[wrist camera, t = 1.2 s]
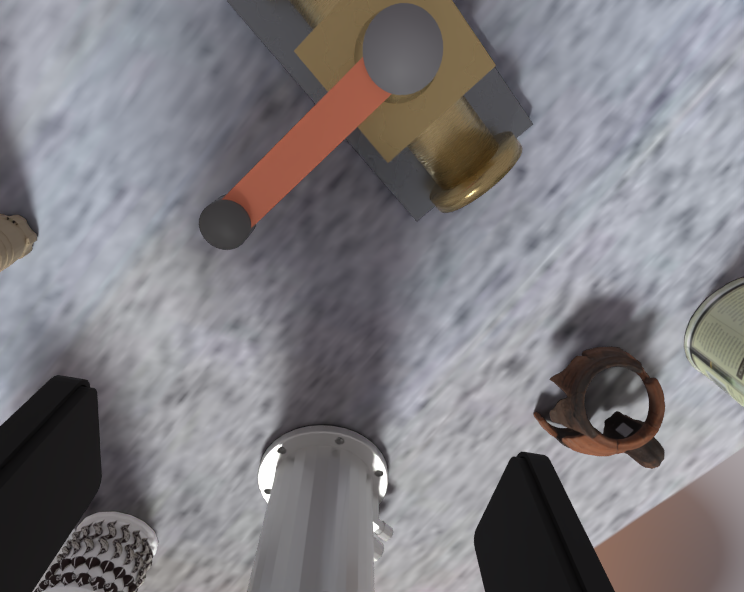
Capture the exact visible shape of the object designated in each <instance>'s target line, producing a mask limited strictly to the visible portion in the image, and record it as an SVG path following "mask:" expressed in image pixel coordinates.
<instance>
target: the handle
mask: <svg viewBox="0 0 744 592" xmlns="http://www.w3.org/2000/svg"><path fill="white" fill-rule="evenodd" d="M35 241H37V235H36V233H35V232H33V231H32V229H31V228H30V227H29V225H28V224H27V220H26V219H24V218H23V217H21V216H19V215H13V216H6V215H4V214H1V213H0V272H1V271H3V270H4V269H6V268H7V267H9V266H10V265H11V264H13V263H14V262H15V261H16V260H18V259H20V258H23V257H24V256H26V255H27V254H29V253H30V252H31V251H32V249H33V248H32V244H33V243H34V242H35Z"/></svg>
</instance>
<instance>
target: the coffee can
mask: <svg viewBox="0 0 744 592" xmlns="http://www.w3.org/2000/svg"><path fill="white" fill-rule="evenodd" d="M684 347H685V353H686V356H687V358H688V360H689V362H690V363H691V364H692V366H693V367H694V368H695V369H697V370H698V371H699V372H701V373H703V374H704V375H705V376H707V377H708V378H709V379H710V380H711V381H713V382H714V383H715V384H716V385H718V386H719V387H720V388H721V389H722V390H724V391H725V392H726V393H727V394H728V395H730V396H731V397H732V398H733V399H734V400H736V401H737V402H738V403H739V404H740V405H742V406H743V407H744V277H743V278H740V279H737V280H735V281H732V282H730V283H728V284H727V285H725V286H724V287H722V288H721V289H719V290H717V291H716V292H715V293H713V294H712V295H711V296H710V297H709V298H707V299H706V300H705V301H704V302H703V304H702V305H701V306H700V307H699V308H698V310H697V311H696V312H695V314H694V316H693V317H692V319H691V320H690V323H689V325H688V328H687V330H686V334H685V340H684Z"/></svg>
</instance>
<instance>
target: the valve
mask: <svg viewBox="0 0 744 592" xmlns="http://www.w3.org/2000/svg"><path fill="white" fill-rule="evenodd" d="M227 2H228V3H229V4H230V5H231V6H232V7H233V9H234V10H235V11H236V12H237V13H238V14H239V16H240V17H241V18H242V19H243V20H244V21H245V23H246V24H247V25H248V26H249V27H250V28H251V30H252V31H253V32H254V33H255V34H256V35H257V37H258V38H259V39H260V40H261V41H262V42H263V44H264V45H265V46H266V47H267V48H268V49H269V50H270V52H271V53H272V54H273V55H274V56H275V57H276V59H277V60H278V61H279V62H280V63H281V64H282V66H283V67H284V68H285V69H286V70H287V71H288V73H289V74H290V75H291V76H292V77H293V78H294V80H295V81H296V82H297V83H298V84H299V85H300V86H301V88H302V89H303V90H304V91H305V92H306V93H307V95H308V96H309V97H310V98H311V99H312V100H313V102H314V103H315V104H317V103H318V102H319V101H320V100H321V99H322V98H323V97H324V96H325V95H326V94H327V93H328V92H329V91H330V90H331V89H332V88H333V87H334V86H335V85H336V84H337V83H338V82H339V81H340V80H341V79H342V78H343V77H344V76H345V74H346V73H347V72H348V71H349V70H350V69H351V68H352V67H353V66H354V65H355V64H356V63H357V62H358V61H359V60H360V59H361V58H362V57H363V41H364V36H365V33H366V30H367V28H368V26H369V24H370V23H371V21H372V20H373V19H374V17H375V16H376V15H377V14H378V13H379V12H380V11H382V10H383V9H385V8H387V7H389V6H391V5H394V4H398V3H410V4H414V5H417V6H419V7H421V8H423V9H424V10H426V11H427V12H428V13H429V14H430V15H431V16H432V17H433V18H434V19H435V21H436V23H437V24H438V26H439V29H440V31H441V34H442V39H443V56H442V61H441V65H440V67H439V70H438V72H437V73H436V75H435V77H434V78H433V79H432V81H431V82H430V83H429V84H428V85H427V86H425V87H424V88H423V89H421V90H420V91H417V92H415V93H412V94H408V95H395V94H391V95H390V96H389V97H388V98H387V99H386V100H385V101H384V102H383V103H382V104H381V105H380V106H379V107H378V108H377V109H376V110H374V111H373V112H372V113H371V114H370V115H369V116H368V117H367V118H366V119H365V120H364V121H363V122H362V123H361V124H360V125H359V126H358V127H357V128H356V129H355V130H354V131H353V132H351V133H350V134H349V135H348V136H347V137H346V138H345V139H346V140H347V141H348V142H349V143H350V145H351V146H352V147H353V148H354V149H355V150H356V152H357V153H358V154H359V155H360V156H361V157H362V159H363V160H364V161H365V162H366V163H367V164H368V166H369V167H370V168H371V169H372V170H373V171H374V172H375V174H376V175H377V176H378V177H379V178H380V179H381V181H382V182H383V183H384V184H385V185H386V186H387V188H388V189H389V190H390V191H391V192H392V193H393V195H394V196H395V197H396V198H397V199H398V200H399V202H400V203H401V204H402V205H403V206H404V207H405V209H406V210H407V211H408V212H409V213H410V214H411V215H412V217H413V218H414V219H415V220H416V221H418V220H419V219H420V218H422V217H423V216H424V215H425V214H426V213H428V212H429V211H430V210H431V209H432V208H434V207H435V206H436V207H437V209H438V210H439V211H440V212H442V213H448V212H452V211H455V210H458V209H460V208H462V207H464V206H466V205H467V204H469V203H471V202H473V201H474V200H476V199H477V198H479V197H480V196H481V195H483V194H484V193H486V192H487V191H488V190H489V189H491V188H492V187H493V186H494V185H495V184H497V183H498V182H499V181H500V180H501V179H502V178H503V177H504V176H505V175H506V174H507V173H508V172H509V171H510V170H511V168H512V167H513V166H514V165H515V163H516V162H517V161H518V159H519V157H520V156H521V153H522V146H521V144H520V143H519V141H518V140H517V137H518V136H520V135H521V134H522V133H523V132H524V131H526V130H527V129H528V128H529V127H530V126H532V125H533V123H532V121H531V120H530V119H529V117H528V116H527V114H526V113H525V111H524V110H523V108H522V107H521V105H520V104H519V102H518V101H517V99H516V98H515V96H514V95H513V93H512V92H511V90H510V89H509V87H508V86H507V85H506V83H505V82H504V80H503V79H502V77H501V76H500V74H499V73H498V71H497V70H496V68H495V66H496V65H495V63H494V62H493V60H492V59H491V57H490V56H489V54H488V53H487V51H486V50H485V48H484V47H483V45H482V44H481V42H480V41H479V39H478V38H477V37H476V35H475V34H474V32H473V31H472V29H471V28H470V26H469V25H468V23H467V22H466V20H465V19H464V17H463V16H462V14H461V13H460V11H459V10H458V8H457V7H456V5H455V4H454V2H453V1H452V0H227Z"/></svg>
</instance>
